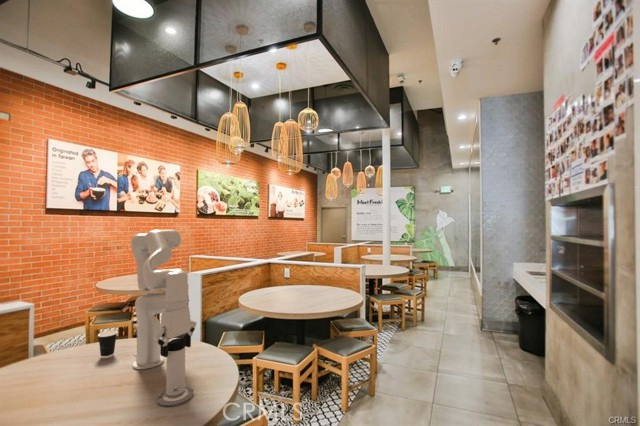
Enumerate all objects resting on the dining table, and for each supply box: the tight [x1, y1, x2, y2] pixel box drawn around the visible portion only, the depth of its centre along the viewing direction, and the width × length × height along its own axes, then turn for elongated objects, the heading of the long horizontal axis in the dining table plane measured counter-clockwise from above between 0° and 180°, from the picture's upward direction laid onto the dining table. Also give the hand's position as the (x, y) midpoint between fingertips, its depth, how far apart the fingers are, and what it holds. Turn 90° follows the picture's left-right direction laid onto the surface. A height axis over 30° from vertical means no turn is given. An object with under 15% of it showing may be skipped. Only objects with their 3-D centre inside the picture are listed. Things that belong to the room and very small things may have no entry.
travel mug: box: [165, 337, 186, 398], centre depth 115 cm, size 6×7×20 cm
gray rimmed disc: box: [157, 385, 194, 408], centre depth 114 cm, size 12×12×1 cm
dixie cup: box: [97, 330, 118, 359], centre depth 151 cm, size 8×8×11 cm
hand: (176, 351), depth 115 cm, fingers open, 9 cm apart
